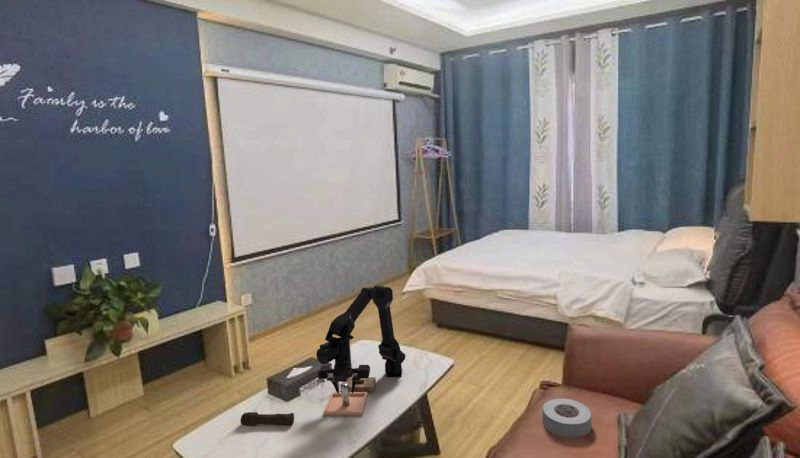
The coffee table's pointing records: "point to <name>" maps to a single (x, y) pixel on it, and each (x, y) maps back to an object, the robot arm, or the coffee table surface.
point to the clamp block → (363, 385)
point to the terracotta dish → (354, 409)
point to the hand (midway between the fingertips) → (345, 393)
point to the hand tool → (266, 419)
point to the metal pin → (345, 394)
